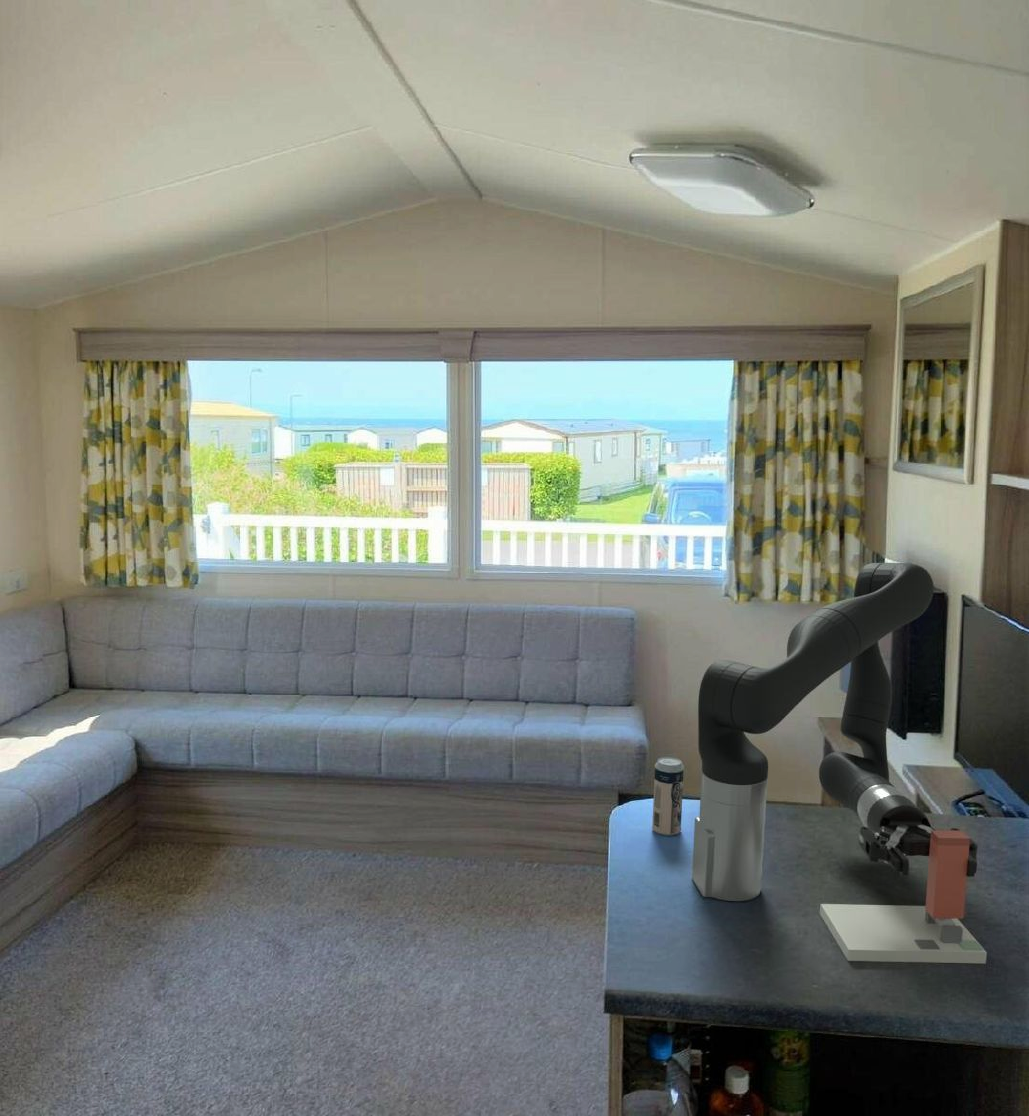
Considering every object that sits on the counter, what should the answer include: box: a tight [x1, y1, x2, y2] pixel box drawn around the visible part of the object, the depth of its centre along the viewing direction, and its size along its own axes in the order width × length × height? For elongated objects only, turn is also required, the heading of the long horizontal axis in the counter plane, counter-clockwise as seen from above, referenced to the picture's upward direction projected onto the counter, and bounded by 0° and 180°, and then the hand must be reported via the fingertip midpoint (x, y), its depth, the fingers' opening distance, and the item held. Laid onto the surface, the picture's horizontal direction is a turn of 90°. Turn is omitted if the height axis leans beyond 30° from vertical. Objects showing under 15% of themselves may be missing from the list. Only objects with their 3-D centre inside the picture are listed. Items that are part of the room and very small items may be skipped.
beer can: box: [651, 756, 685, 837], centre depth 167 cm, size 5×5×12 cm
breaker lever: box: [925, 829, 971, 928], centre depth 133 cm, size 4×3×13 cm
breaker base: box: [819, 903, 988, 965], centre depth 135 cm, size 18×12×4 cm
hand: (939, 869), depth 131 cm, fingers open, 8 cm apart
